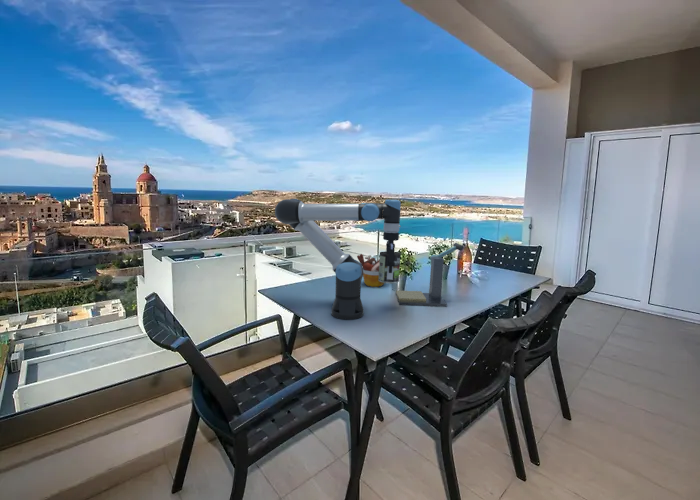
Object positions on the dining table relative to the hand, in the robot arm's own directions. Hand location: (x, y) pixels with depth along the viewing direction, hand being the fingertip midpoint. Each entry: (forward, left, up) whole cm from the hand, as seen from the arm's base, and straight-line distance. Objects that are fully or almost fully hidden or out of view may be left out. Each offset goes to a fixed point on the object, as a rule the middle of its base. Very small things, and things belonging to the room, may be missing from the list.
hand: (388, 276), depth 159 cm
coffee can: (0, 0, -3) cm, 3 cm away
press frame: (+18, +12, -16) cm, 27 cm away
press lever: (+33, +18, +8) cm, 39 cm away
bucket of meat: (-6, +40, -16) cm, 43 cm away
